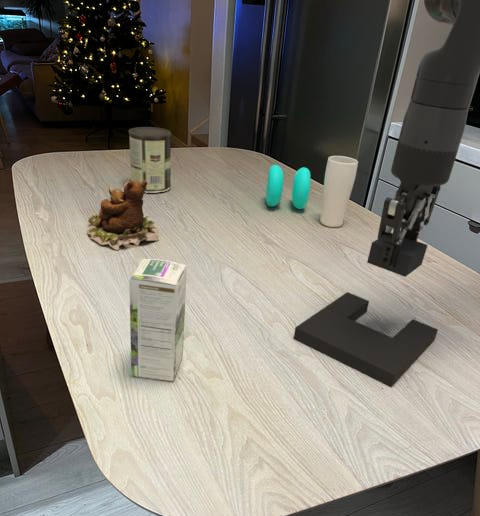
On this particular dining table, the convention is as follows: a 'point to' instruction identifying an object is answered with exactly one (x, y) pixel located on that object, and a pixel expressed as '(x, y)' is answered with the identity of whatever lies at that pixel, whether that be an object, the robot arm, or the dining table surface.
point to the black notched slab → (364, 340)
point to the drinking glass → (337, 189)
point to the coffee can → (151, 157)
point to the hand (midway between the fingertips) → (395, 259)
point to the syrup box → (157, 318)
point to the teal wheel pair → (298, 191)
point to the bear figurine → (123, 218)
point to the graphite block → (400, 256)
